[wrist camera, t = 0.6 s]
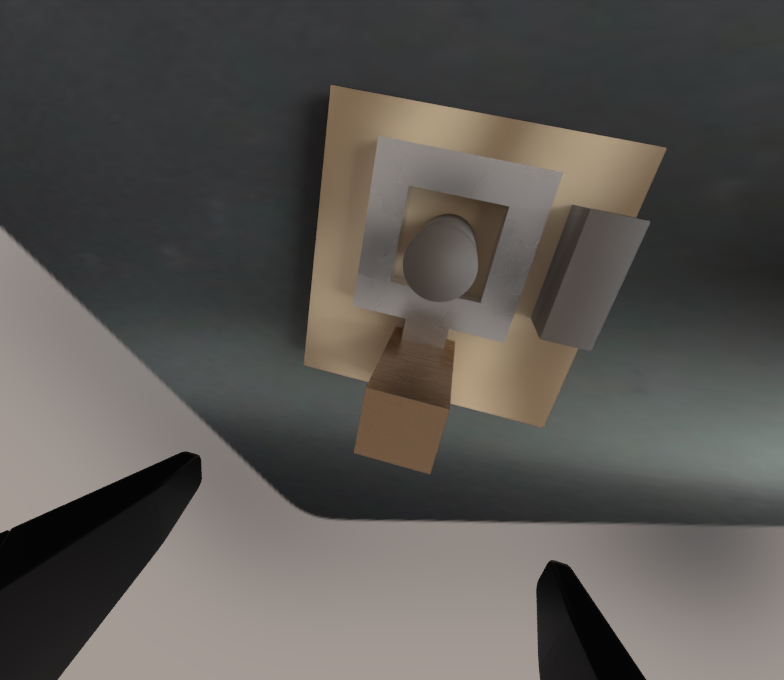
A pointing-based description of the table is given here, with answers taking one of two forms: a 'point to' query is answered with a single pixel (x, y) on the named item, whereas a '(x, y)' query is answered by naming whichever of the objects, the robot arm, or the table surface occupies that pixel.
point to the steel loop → (434, 319)
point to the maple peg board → (477, 247)
